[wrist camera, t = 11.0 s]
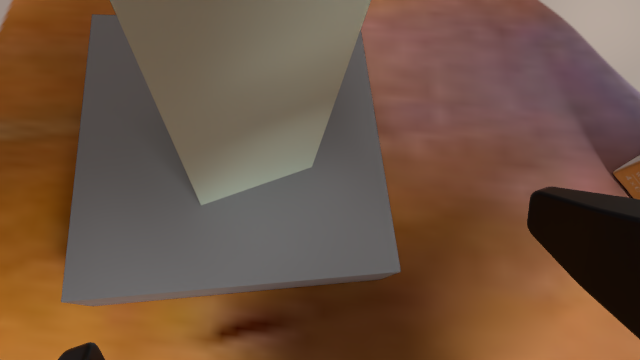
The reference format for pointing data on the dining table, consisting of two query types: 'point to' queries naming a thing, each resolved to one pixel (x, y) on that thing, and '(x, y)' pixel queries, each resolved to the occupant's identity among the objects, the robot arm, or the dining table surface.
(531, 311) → the dining table surface
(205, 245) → the plinth
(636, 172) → the small box
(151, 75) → the sage block
